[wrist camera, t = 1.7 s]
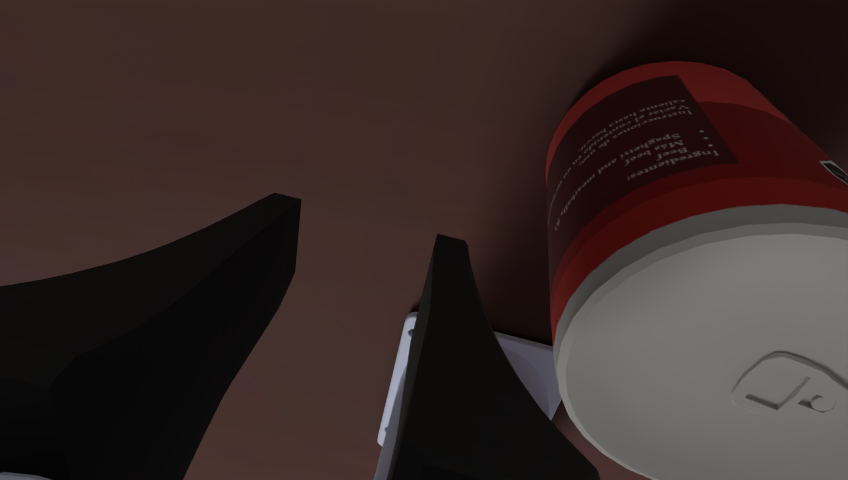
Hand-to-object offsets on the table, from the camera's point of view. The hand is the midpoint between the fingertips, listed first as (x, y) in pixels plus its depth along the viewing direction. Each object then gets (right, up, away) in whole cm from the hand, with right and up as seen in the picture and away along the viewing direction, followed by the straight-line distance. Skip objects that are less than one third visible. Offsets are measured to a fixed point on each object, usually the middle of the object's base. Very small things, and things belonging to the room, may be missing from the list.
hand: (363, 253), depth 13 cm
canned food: (+10, +3, +8) cm, 13 cm away
